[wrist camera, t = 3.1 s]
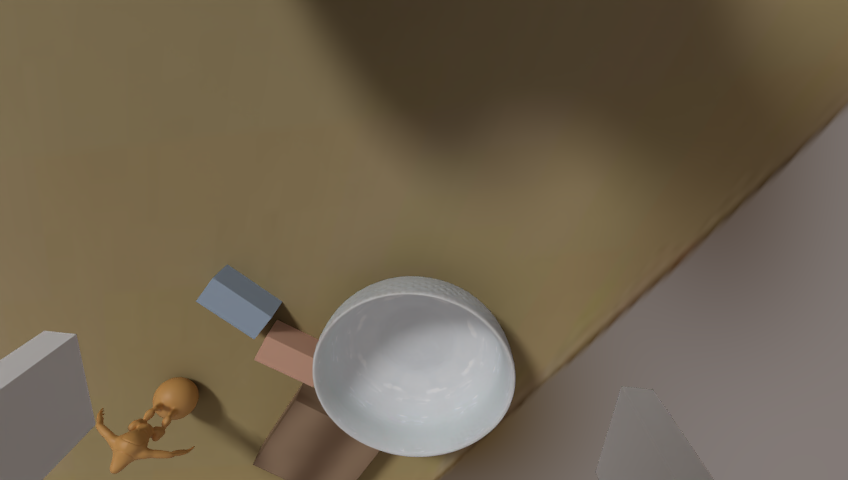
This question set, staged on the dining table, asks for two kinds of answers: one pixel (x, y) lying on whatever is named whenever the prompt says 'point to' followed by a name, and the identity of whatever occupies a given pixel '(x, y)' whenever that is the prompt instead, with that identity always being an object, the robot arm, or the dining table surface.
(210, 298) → the slate-blue brick
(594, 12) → the dining table surface
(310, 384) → the terracotta brick
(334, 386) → the cereal bowl
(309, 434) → the walnut plinth
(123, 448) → the figurine
